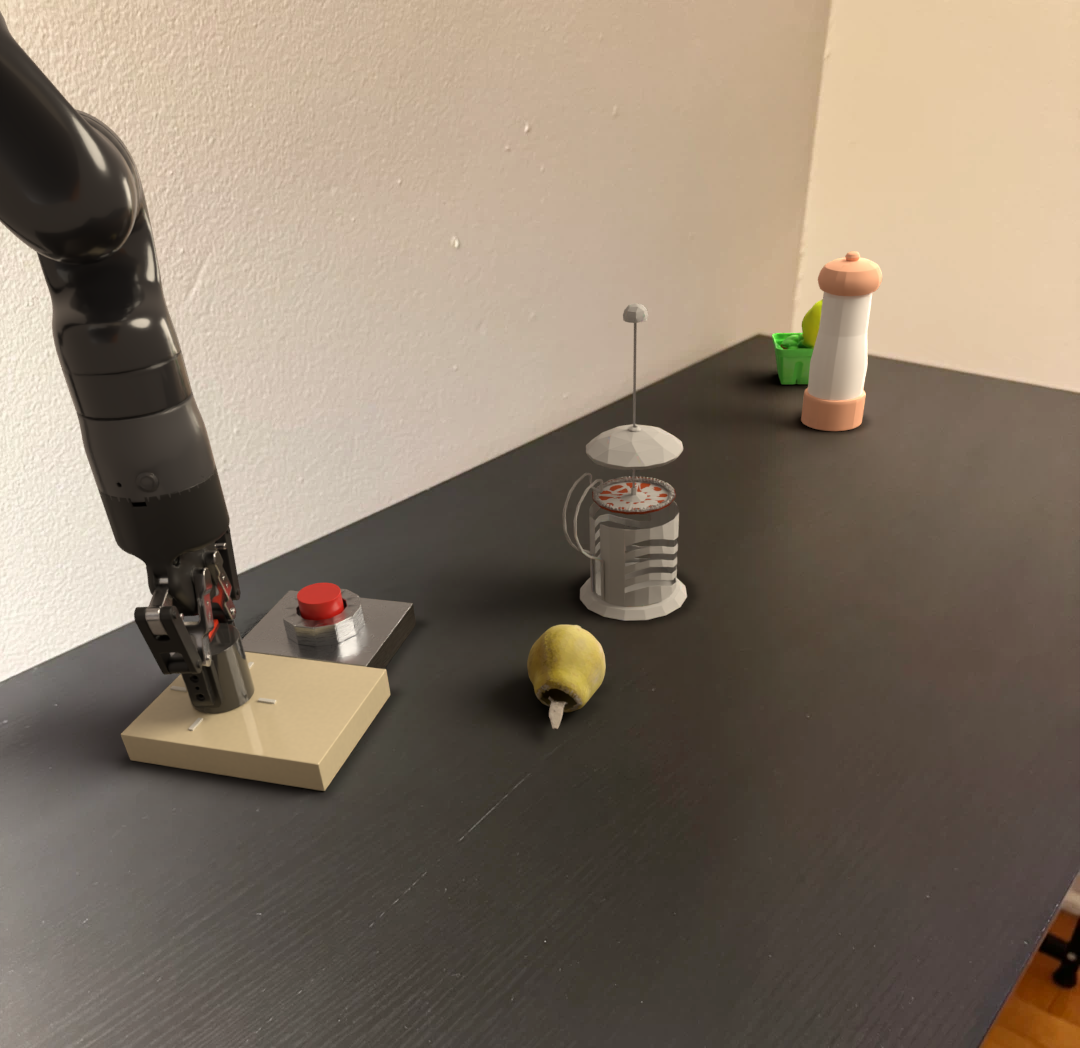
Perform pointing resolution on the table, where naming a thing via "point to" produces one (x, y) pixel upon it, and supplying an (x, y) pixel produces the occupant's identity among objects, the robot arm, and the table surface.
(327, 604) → the button
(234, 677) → the knob
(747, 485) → the table surface
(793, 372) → the fruit basket
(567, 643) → the fruit
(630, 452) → the french press
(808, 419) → the salt shaker
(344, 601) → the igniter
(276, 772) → the panel
